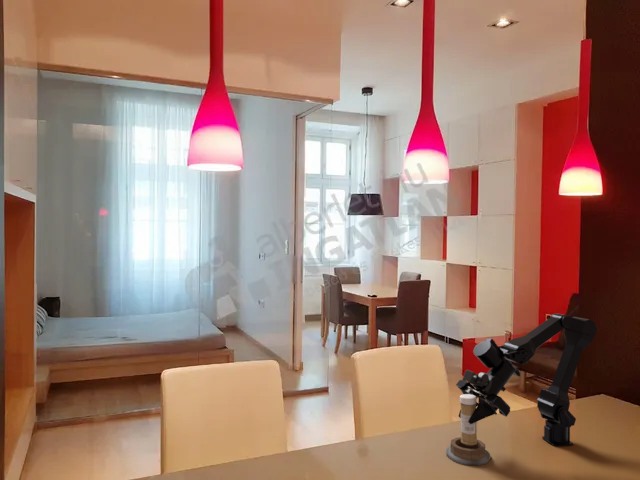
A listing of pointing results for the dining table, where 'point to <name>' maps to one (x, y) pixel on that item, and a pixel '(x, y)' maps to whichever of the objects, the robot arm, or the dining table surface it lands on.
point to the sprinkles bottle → (467, 410)
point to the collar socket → (467, 453)
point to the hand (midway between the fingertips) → (464, 420)
